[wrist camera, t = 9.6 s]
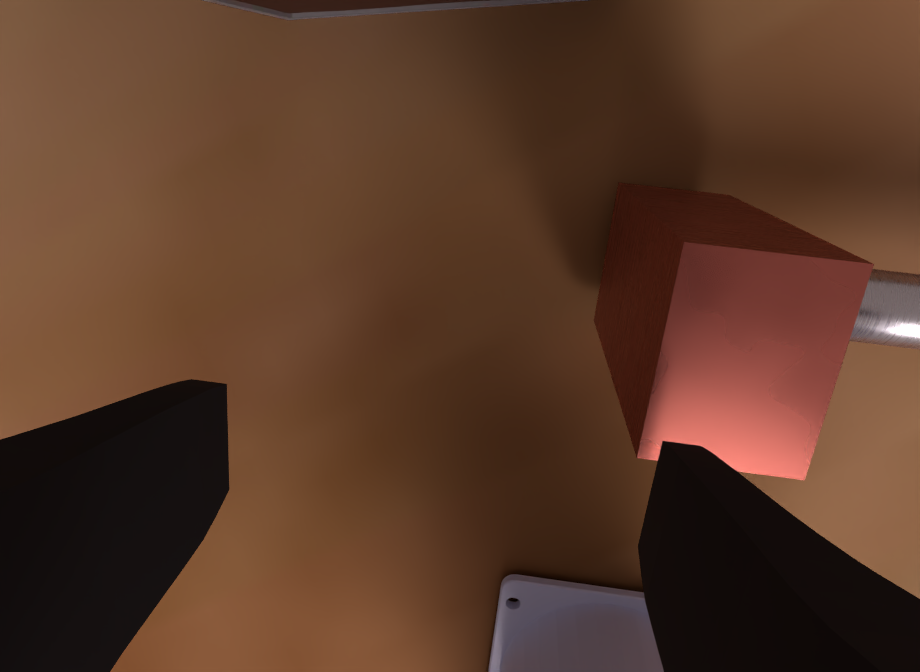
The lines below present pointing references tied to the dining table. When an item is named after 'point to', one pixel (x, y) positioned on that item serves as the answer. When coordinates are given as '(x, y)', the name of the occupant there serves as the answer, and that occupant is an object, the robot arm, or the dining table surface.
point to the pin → (735, 325)
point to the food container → (361, 6)
